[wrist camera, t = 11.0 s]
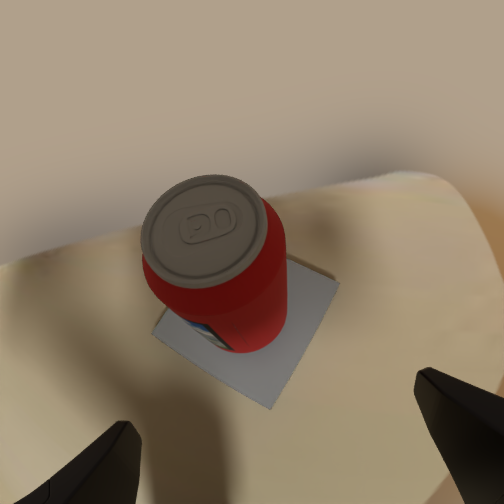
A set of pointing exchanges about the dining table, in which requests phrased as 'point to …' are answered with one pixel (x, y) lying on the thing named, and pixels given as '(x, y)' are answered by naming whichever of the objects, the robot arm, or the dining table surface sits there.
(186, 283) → the beverage can
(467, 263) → the dining table surface
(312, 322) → the trivet
